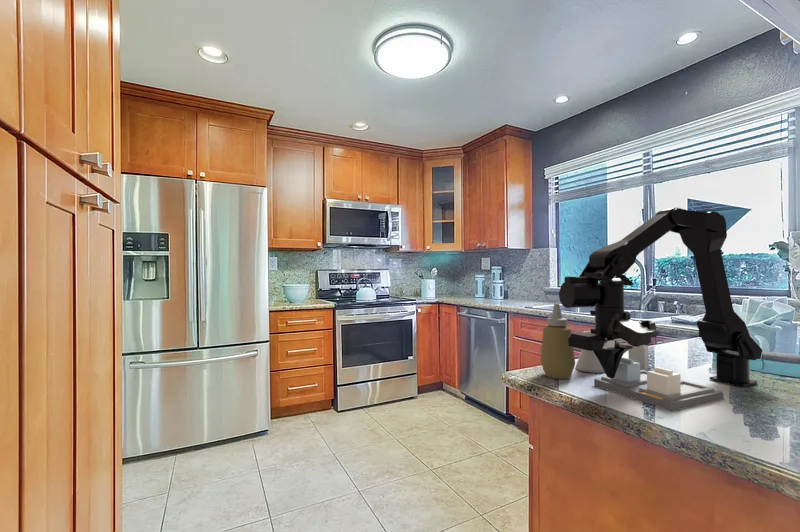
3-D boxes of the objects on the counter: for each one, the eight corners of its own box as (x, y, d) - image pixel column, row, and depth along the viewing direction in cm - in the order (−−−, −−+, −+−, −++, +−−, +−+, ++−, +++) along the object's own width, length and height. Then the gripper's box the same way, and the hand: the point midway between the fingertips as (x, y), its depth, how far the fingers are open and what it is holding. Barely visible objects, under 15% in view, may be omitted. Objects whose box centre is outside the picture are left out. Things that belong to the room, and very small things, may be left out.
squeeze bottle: (533, 375, 95) (532, 303, 95) (552, 370, 100) (551, 301, 100) (564, 383, 88) (563, 306, 89) (582, 376, 93) (581, 304, 93)
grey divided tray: (642, 377, 92) (642, 368, 92) (723, 399, 77) (723, 388, 77) (594, 385, 86) (594, 376, 86) (671, 411, 71) (671, 399, 71)
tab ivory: (660, 388, 78) (659, 365, 78) (680, 394, 75) (680, 370, 75) (647, 391, 77) (646, 367, 77) (667, 397, 73) (666, 372, 73)
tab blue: (623, 376, 87) (623, 355, 87) (640, 381, 83) (640, 359, 84) (611, 378, 86) (611, 357, 86) (627, 383, 82) (627, 361, 82)
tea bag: (648, 366, 102) (648, 329, 102) (645, 372, 97) (644, 333, 97) (632, 364, 104) (632, 328, 104) (628, 369, 99) (628, 331, 99)
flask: (598, 366, 103) (598, 329, 103) (610, 374, 95) (610, 334, 96) (571, 366, 103) (570, 329, 103) (581, 373, 96) (580, 334, 96)
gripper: (611, 312, 72) (612, 394, 72) (675, 307, 79) (677, 382, 79) (565, 307, 82) (567, 379, 82) (626, 303, 89) (627, 369, 89)
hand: (610, 377), depth 83 cm, fingers closed
